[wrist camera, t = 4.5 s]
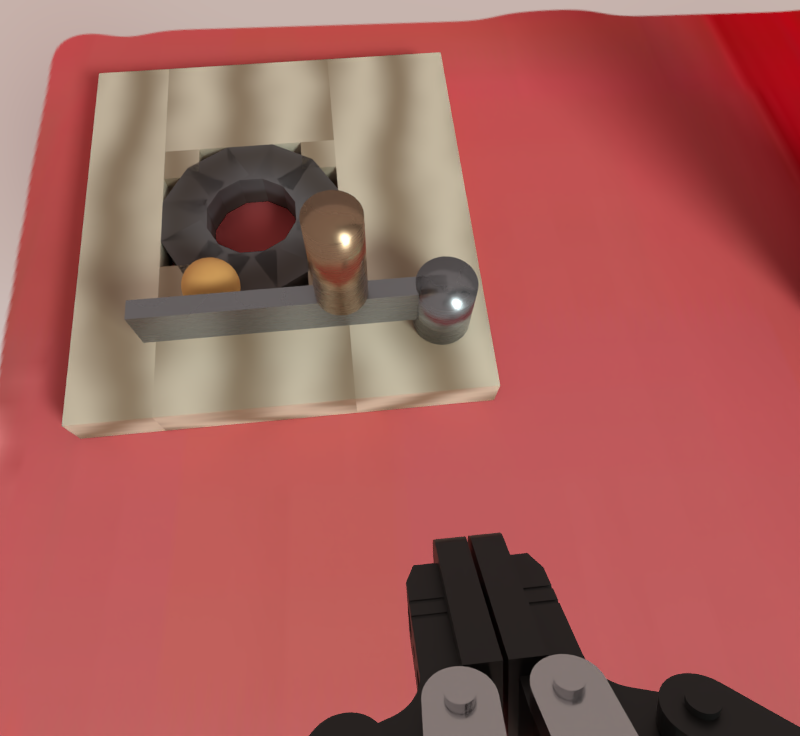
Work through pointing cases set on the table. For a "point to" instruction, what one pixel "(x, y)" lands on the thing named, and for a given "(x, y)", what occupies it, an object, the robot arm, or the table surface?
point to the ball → (209, 277)
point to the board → (280, 264)
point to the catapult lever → (322, 290)
